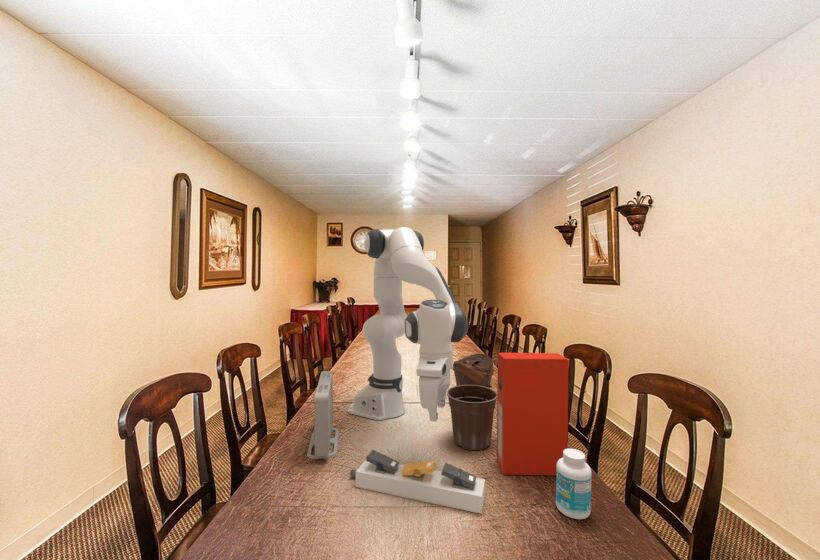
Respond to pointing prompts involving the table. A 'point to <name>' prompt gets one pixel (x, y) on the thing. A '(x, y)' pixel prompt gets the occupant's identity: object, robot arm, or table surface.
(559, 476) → the pill bottle
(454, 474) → the rocker right black
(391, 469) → the rocker left black
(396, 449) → the table surface
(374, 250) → the robot arm
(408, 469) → the rocker middle orange
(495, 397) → the plant pot
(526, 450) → the file binder
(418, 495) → the power strip
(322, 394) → the network device
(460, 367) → the case
